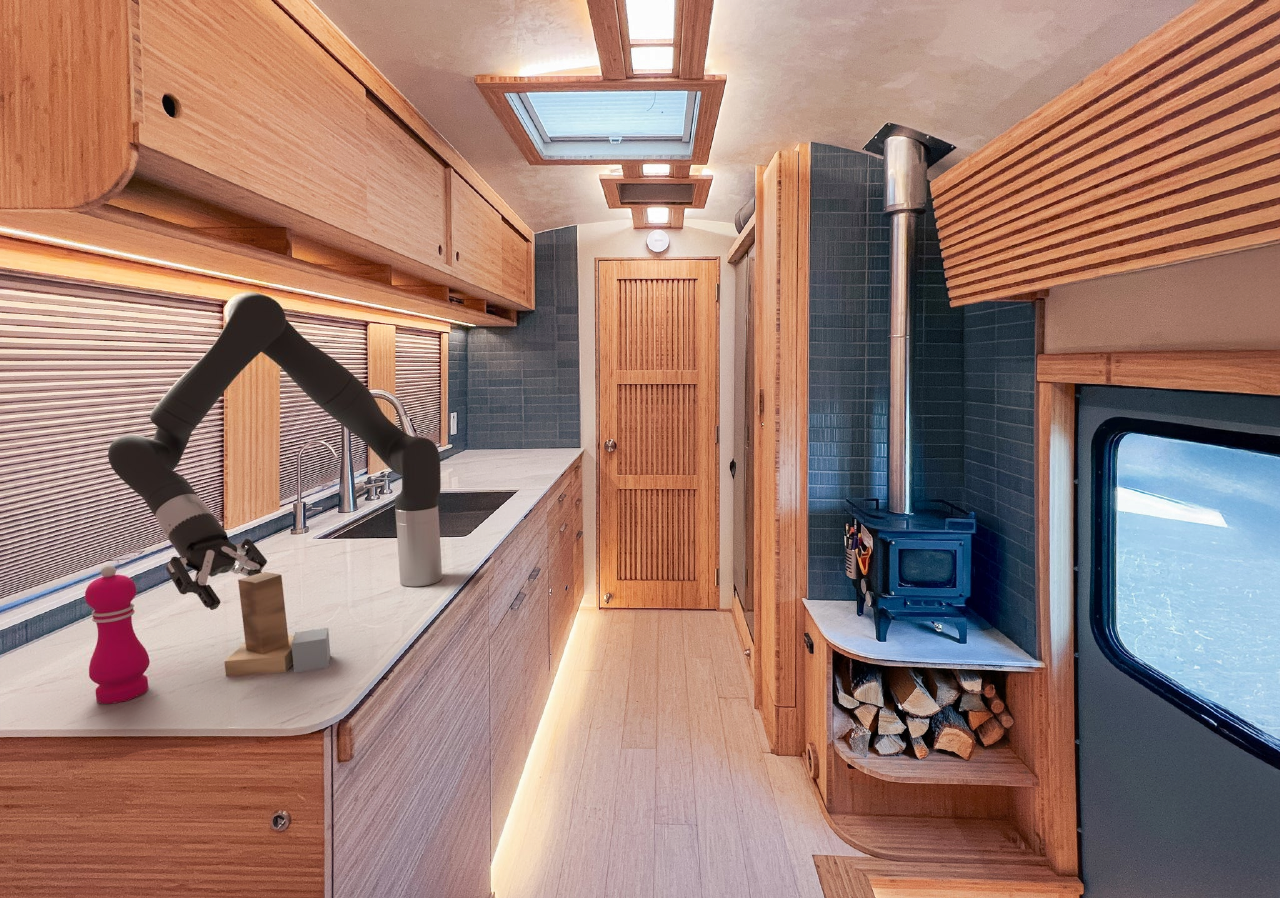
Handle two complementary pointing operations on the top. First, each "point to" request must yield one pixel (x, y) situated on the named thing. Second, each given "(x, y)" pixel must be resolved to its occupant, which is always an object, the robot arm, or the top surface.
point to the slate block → (311, 650)
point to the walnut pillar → (263, 612)
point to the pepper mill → (116, 640)
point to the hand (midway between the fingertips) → (241, 598)
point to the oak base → (259, 661)
